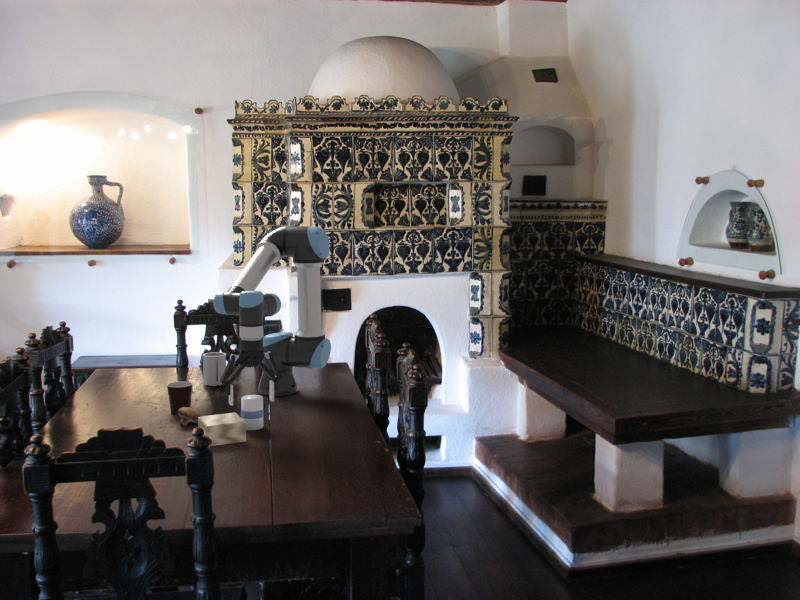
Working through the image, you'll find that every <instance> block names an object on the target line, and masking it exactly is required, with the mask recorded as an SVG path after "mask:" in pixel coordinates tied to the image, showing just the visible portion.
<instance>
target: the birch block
mask: <svg viewBox="0 0 800 600" xmlns="http://www.w3.org/2000/svg"><path fill="white" fill-rule="evenodd" d="M198 427H200V428H202V429H203V430H204V435H205V436H207V437H209V438H210V439H211V440H212V444H211V446H210V447H215V446H222V445H229V444H237V443H244V442H247V430H246V422H245V421H244V420H243V419H242V417H241V415H239V414H238V413H237V412H229V413H220V414H211V415H202V416H200V417H198V423H197V428H198Z"/></svg>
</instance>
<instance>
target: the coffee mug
mask: <svg viewBox="0 0 800 600" xmlns="http://www.w3.org/2000/svg"><path fill="white" fill-rule="evenodd" d="M193 384H194V383H193V382H191V381H174V382H168V383H167V385H166V388H167V394H168V401H169V407H170V413H171V414H172V415H178V410H179V409H180V408H182V407H190V408H191V404H192V393H193ZM178 416H179V415H178Z"/></svg>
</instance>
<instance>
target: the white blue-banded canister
mask: <svg viewBox="0 0 800 600" xmlns="http://www.w3.org/2000/svg"><path fill="white" fill-rule="evenodd" d="M240 401H241V402H240V403H241V408H240V412H241V413H240V417H241V418H242V419H243V420H244V421H245V422H246V431H256V430H257V431H258V430H261V429H263V428H264V416H265V415H264V395H261V394H247V395H243V396H241V399H240Z"/></svg>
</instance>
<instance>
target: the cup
mask: <svg viewBox="0 0 800 600" xmlns="http://www.w3.org/2000/svg"><path fill="white" fill-rule="evenodd" d="M202 366H203V367H202V372H203V373H202V375H203V382H202V383H203V385H204V384H205V385H204V386H207V385H209V387H210V386H211V387H218V386H217V385H219V386H224V385H223V384H222V383H221V382H220V379H221V377H222V375H223V373H224V370H225V368H226V366H227V353H226V352H223V351H222V352H221V351H220V352H219V351H214V352H213V351H211V352H206V353H203V354H202Z"/></svg>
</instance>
